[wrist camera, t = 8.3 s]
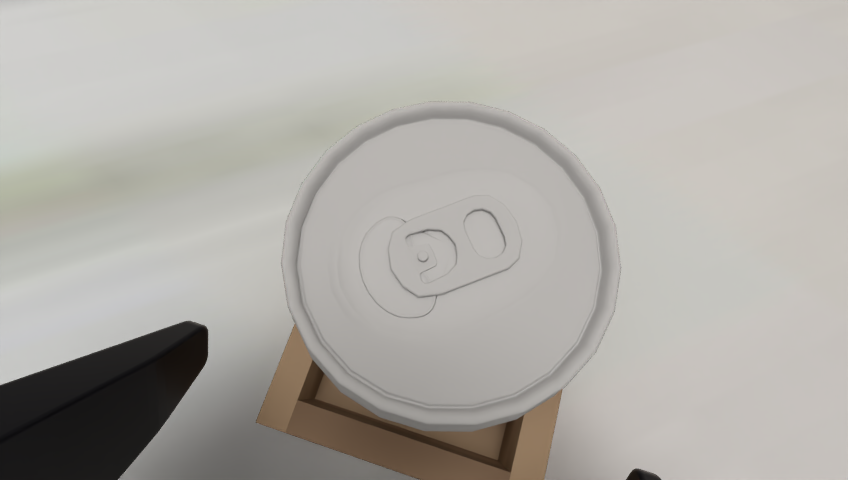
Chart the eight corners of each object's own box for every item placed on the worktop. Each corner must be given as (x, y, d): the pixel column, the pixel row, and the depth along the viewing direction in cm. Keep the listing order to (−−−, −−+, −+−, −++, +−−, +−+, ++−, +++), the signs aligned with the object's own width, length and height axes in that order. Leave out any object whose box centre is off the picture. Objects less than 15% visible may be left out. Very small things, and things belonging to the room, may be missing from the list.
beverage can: (352, 303, 18) (230, 153, 6) (464, 260, 18) (534, 52, 7) (395, 425, 16) (335, 511, 5) (514, 375, 17) (703, 347, 6)
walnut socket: (516, 497, 16) (535, 519, 13) (282, 416, 17) (255, 422, 14) (567, 264, 19) (592, 243, 16) (363, 204, 20) (354, 174, 17)
